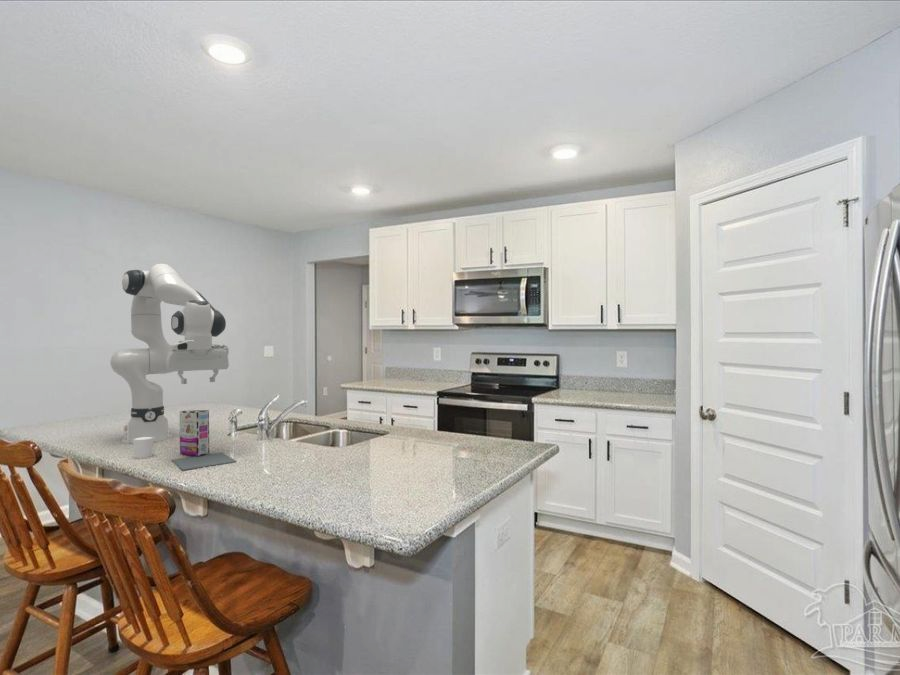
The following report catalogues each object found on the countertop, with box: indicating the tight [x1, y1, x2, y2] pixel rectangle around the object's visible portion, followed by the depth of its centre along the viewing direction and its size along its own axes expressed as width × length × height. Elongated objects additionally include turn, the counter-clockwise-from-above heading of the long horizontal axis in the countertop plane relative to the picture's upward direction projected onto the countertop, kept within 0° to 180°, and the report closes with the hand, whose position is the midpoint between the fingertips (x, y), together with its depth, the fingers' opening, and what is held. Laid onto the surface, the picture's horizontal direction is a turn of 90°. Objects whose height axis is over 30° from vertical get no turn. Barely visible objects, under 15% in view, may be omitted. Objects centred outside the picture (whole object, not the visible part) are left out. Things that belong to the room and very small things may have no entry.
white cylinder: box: [132, 437, 155, 459], centre depth 180 cm, size 7×7×7 cm
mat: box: [171, 452, 237, 472], centre depth 173 cm, size 17×17×1 cm
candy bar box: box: [179, 409, 210, 457], centre depth 183 cm, size 11×5×16 cm, turn 61°
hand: (198, 382), depth 178 cm, fingers open, 8 cm apart
